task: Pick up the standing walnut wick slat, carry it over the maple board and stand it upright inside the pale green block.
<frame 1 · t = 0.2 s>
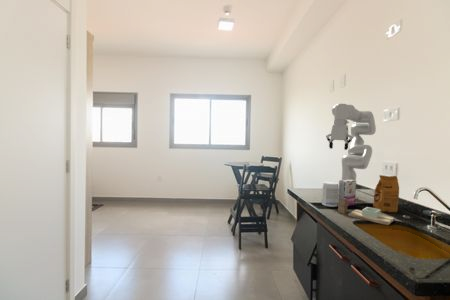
hand: (338, 149, 182), 36 cm above the worktop, tool pointing down, fingers open, 9 cm apart
candy bar box: (346, 205, 182), on the worktop
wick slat: (342, 212, 164), on the worktop
maple board: (370, 218, 155), on the worktop
supplement tub: (329, 205, 179), on the worktop
pale green block: (371, 215, 155), resting on maple board
coffee package: (384, 210, 173), on the worktop
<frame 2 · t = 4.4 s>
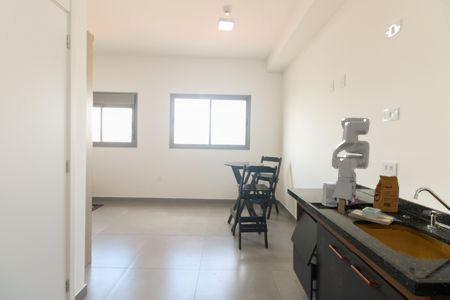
hand: (342, 210, 164), 1 cm above the worktop, tool pointing down, fingers closed on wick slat, 3 cm apart
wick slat: (342, 212, 164), on the worktop, touching gripper
everything else where it was.
when the fingers open (6 cm above the worktop, at t = 9.7 s): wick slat drops 2 cm, resting on pale green block.
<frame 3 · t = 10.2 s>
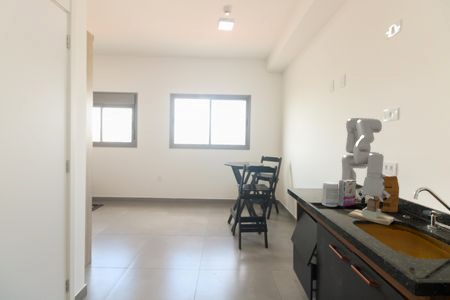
hand: (371, 206, 155), 7 cm above the worktop, tool pointing down, fingers open, 8 cm apart
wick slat: (371, 213, 155), point 2 cm above the worktop, touching pale green block
everything else where it was.
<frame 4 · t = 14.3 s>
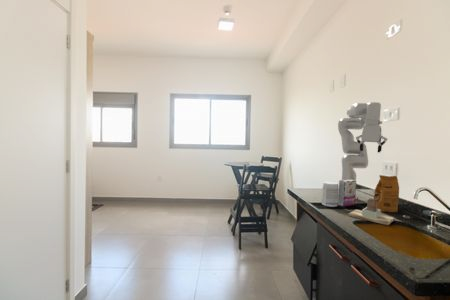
hand: (370, 151, 167), 36 cm above the worktop, tool pointing down, fingers open, 9 cm apart
nothing on the worktop moved.
at the end: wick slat 0.0 cm off-centre on the pale green block, point 0.8 cm above the pale green block's base; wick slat tilted 0°; the gripper is holding nothing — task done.
